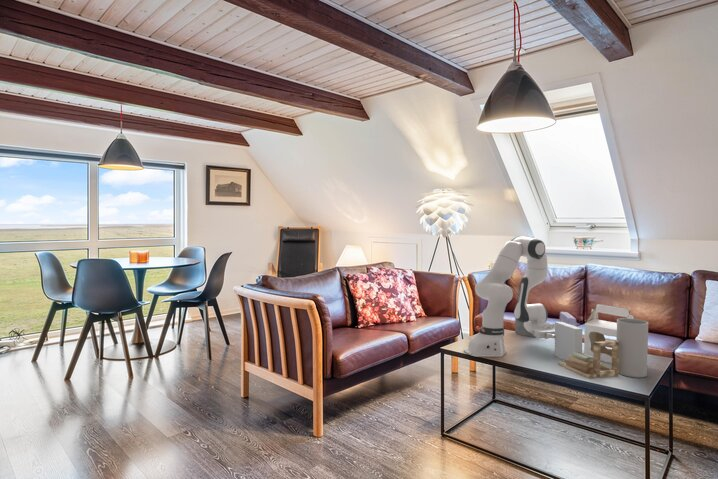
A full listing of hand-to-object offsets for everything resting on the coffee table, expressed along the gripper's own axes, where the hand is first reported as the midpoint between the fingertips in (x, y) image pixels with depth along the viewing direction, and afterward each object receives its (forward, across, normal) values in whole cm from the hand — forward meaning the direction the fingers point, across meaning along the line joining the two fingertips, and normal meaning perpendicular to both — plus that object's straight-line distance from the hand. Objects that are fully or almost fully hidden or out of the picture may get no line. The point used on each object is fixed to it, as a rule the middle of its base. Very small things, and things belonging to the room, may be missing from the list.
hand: (561, 336), depth 234 cm
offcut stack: (+24, -7, +9) cm, 26 cm away
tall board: (+5, 0, +11) cm, 12 cm away
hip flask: (-45, +8, +11) cm, 47 cm away
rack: (+22, -2, +11) cm, 24 cm away
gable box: (+10, +22, +11) cm, 27 cm away
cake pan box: (-19, +18, +11) cm, 29 cm away
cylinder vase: (+31, +14, +11) cm, 36 cm away
